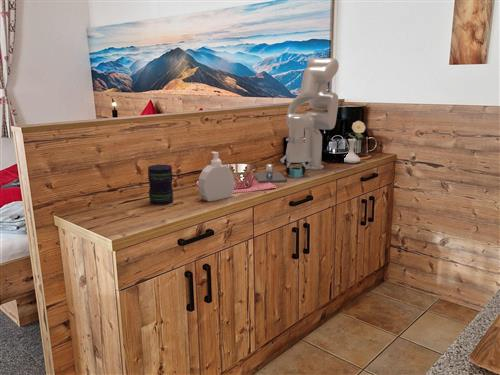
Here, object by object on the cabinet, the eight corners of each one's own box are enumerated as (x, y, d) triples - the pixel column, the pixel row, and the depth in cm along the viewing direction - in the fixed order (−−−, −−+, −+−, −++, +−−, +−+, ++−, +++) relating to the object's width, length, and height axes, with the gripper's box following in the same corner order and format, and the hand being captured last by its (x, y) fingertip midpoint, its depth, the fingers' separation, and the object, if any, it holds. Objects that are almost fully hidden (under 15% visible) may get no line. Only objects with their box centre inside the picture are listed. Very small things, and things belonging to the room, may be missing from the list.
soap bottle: (227, 194, 206) (227, 149, 201) (234, 196, 202) (234, 151, 197) (197, 200, 196) (196, 153, 191) (204, 202, 192) (203, 155, 187)
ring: (287, 174, 244) (287, 167, 243) (300, 174, 245) (300, 166, 244) (290, 177, 238) (290, 170, 237) (303, 177, 239) (304, 169, 238)
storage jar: (147, 200, 196) (145, 165, 192) (170, 198, 199) (169, 163, 196) (151, 206, 187) (149, 170, 183) (175, 204, 190) (174, 168, 187)
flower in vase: (340, 163, 275) (342, 121, 269) (342, 160, 285) (344, 119, 279) (362, 165, 271) (365, 122, 265) (363, 161, 282) (366, 120, 276)
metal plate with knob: (252, 174, 246) (252, 161, 244) (278, 173, 248) (279, 160, 246) (259, 183, 227) (259, 168, 225) (287, 182, 229) (287, 168, 227)
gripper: (281, 141, 232) (280, 176, 236) (314, 141, 234) (313, 175, 239) (278, 139, 239) (277, 173, 244) (310, 138, 242) (309, 172, 246)
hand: (295, 174), depth 241 cm, fingers closed on ring, 7 cm apart
